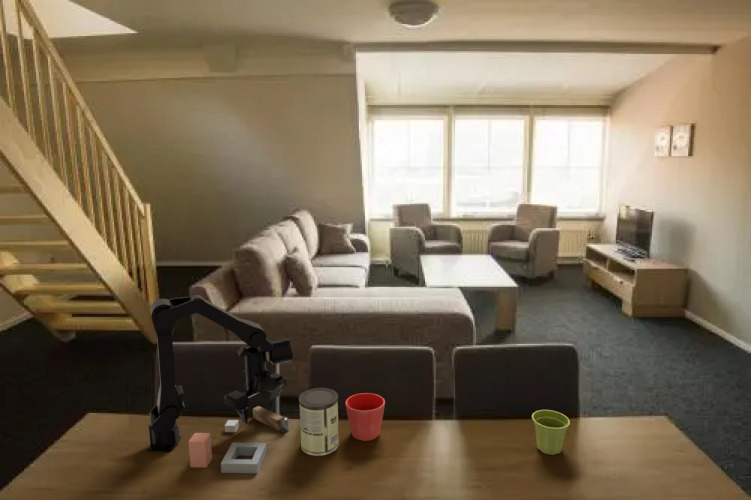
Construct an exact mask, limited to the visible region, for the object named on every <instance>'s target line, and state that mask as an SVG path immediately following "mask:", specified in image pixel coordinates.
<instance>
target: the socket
mask: <svg viewBox="0 0 751 500" xmlns="http://www.w3.org/2000/svg"><path fill="white" fill-rule="evenodd" d="M267 445H268V444H267V442H232V443H231V445H230V446H229V448H228V450H227V451H226V454H225V455H224V457H223V459H222V461H221V462H220V472H221V474H222V473H223V474H225V473H226V474H259V471H260V469H261V466H262V464H263V463H264V462H263V461H264V459H265V456H266V455H267V452H268V450H267V448H268V447H267ZM238 456H249V457H251V456H252V458H251V459H250V458H249V459H244V458H243V459H242V458H241V459H239V458H237V457H238Z"/></svg>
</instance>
